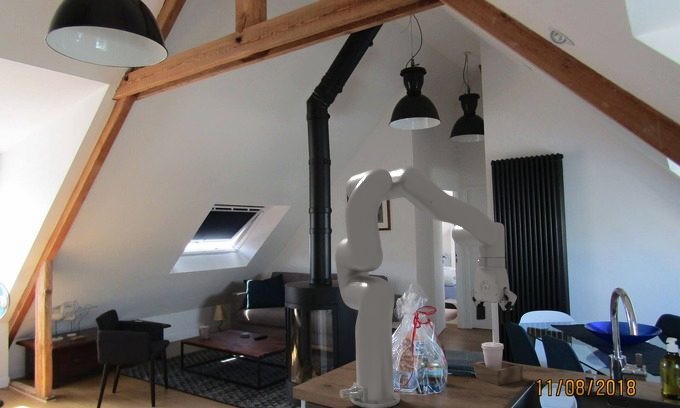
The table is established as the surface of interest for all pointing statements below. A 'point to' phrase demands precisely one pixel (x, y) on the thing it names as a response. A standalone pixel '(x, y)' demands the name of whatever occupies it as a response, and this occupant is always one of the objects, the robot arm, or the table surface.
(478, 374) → the box
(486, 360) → the smoothie
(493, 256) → the robot arm
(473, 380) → the table surface
